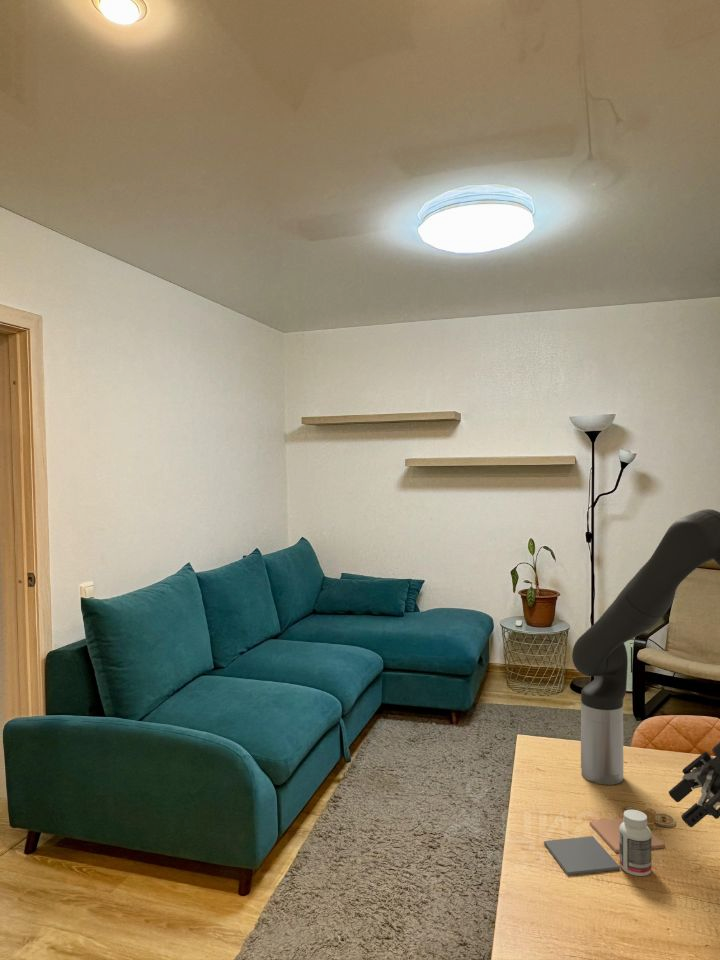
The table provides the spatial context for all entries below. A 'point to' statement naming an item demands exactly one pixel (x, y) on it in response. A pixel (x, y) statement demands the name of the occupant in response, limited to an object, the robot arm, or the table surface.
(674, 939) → the table surface
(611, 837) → the terracotta coaster
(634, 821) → the pill bottle
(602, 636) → the robot arm
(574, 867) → the slate coaster
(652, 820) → the cookie
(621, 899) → the table surface
